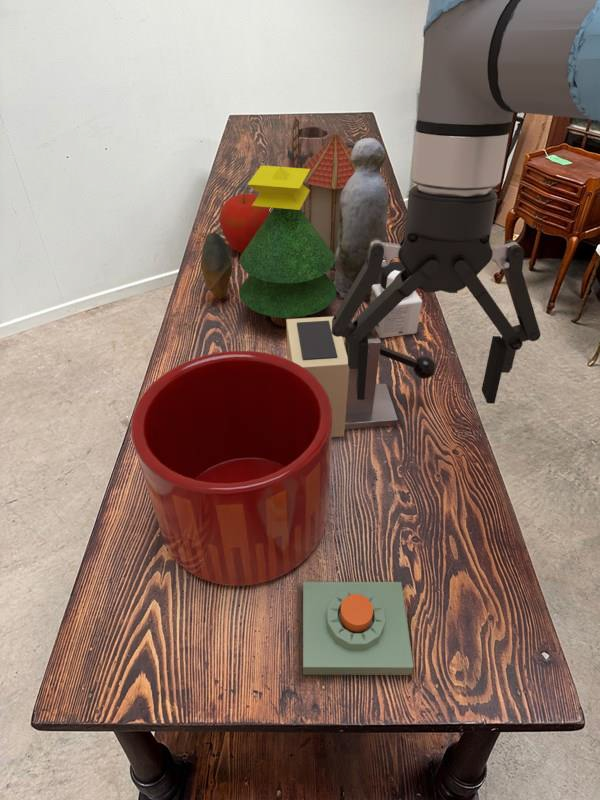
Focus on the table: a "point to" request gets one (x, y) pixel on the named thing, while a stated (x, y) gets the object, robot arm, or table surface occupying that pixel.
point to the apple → (241, 220)
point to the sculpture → (361, 214)
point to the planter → (236, 464)
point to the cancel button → (356, 613)
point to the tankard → (309, 145)
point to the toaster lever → (411, 361)
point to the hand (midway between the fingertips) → (423, 395)
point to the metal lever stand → (369, 394)
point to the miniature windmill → (325, 184)
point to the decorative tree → (285, 251)
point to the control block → (355, 651)
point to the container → (397, 307)
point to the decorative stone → (216, 265)
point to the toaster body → (322, 361)
